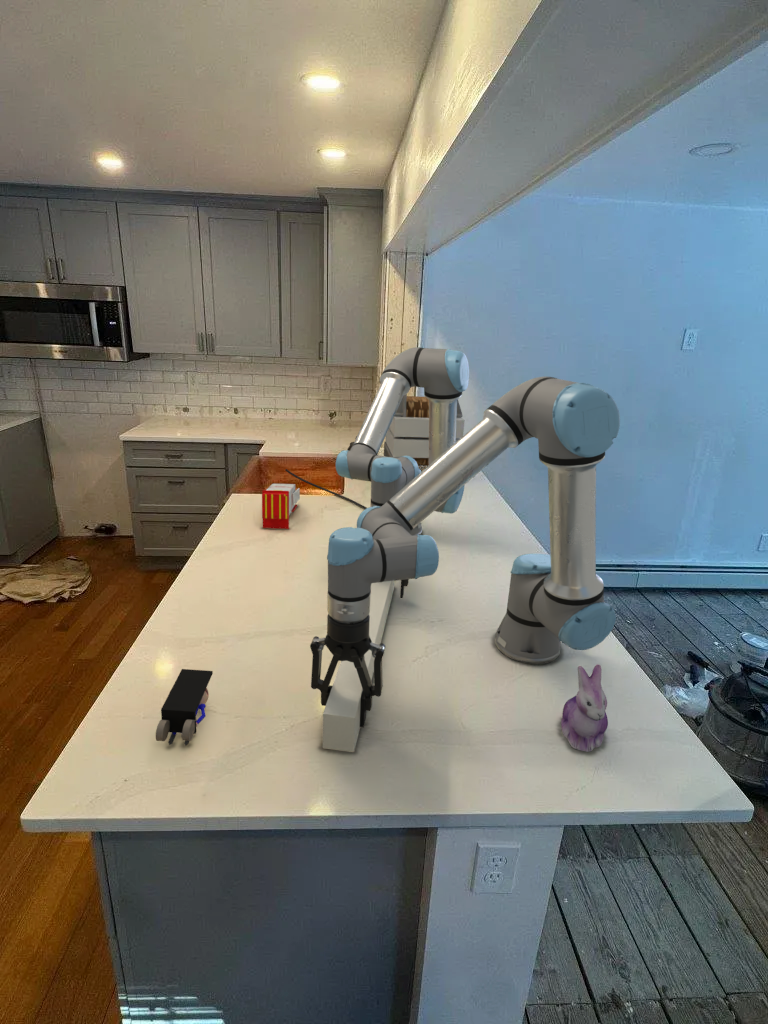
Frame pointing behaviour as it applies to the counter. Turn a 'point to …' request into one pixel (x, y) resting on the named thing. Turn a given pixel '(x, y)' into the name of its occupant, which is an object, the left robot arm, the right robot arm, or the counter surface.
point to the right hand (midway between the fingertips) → (346, 720)
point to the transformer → (414, 430)
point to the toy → (279, 505)
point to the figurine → (586, 712)
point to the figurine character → (184, 705)
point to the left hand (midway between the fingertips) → (380, 593)
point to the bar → (354, 680)
